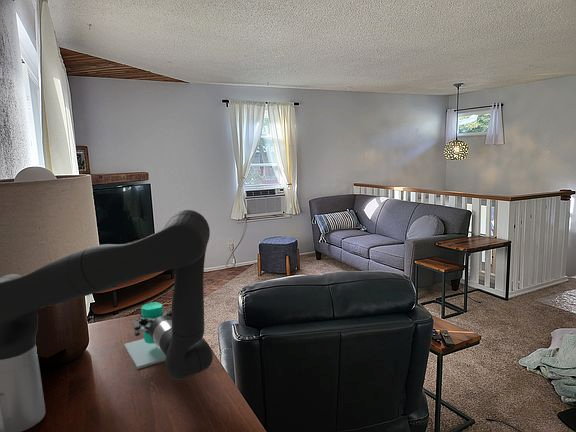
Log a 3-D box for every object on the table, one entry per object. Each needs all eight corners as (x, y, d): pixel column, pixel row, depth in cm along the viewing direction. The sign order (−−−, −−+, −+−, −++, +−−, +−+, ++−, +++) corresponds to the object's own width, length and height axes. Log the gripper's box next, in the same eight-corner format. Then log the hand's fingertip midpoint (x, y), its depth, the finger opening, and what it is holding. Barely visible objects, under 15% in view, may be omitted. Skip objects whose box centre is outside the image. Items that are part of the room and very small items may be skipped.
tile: (186, 353, 114) (186, 351, 114) (137, 369, 106) (137, 366, 106) (169, 333, 127) (169, 331, 127) (124, 346, 119) (124, 343, 119)
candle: (151, 345, 112) (148, 306, 110) (140, 340, 115) (136, 302, 113) (169, 337, 116) (166, 299, 114) (157, 332, 120) (154, 295, 118)
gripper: (192, 313, 106) (172, 296, 120) (138, 328, 98) (124, 308, 112) (194, 339, 108) (174, 319, 121) (141, 355, 100) (126, 332, 113)
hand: (150, 314), depth 117 cm, fingers closed on candle, 4 cm apart
